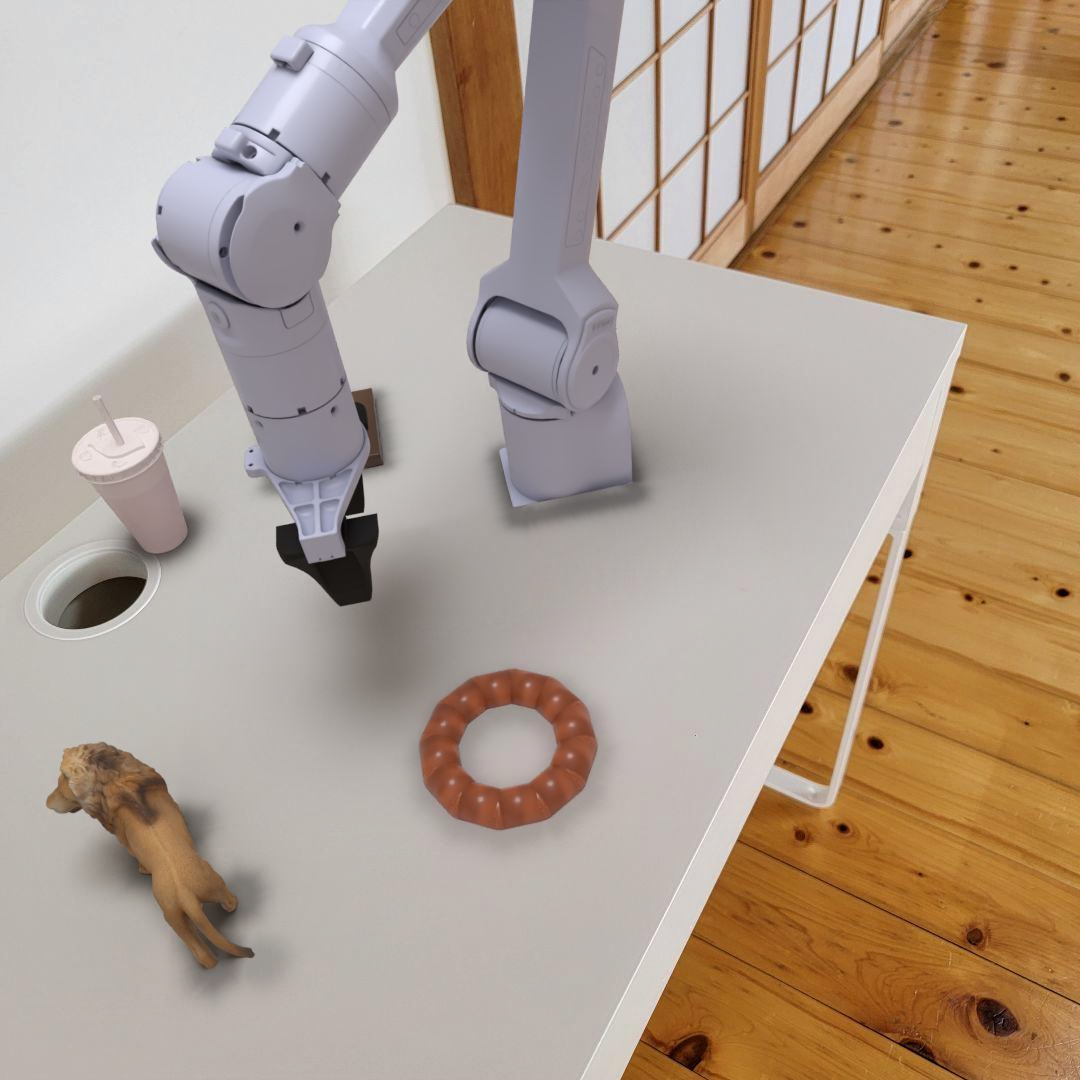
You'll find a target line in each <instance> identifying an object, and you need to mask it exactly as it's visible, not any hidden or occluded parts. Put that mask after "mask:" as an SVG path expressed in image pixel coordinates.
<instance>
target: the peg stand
mask: <svg viewBox="0 0 1080 1080" xmlns="http://www.w3.org/2000/svg"><path fill="white" fill-rule="evenodd" d="M351 393H352V396H353V399H354V402H358V403H361V404H363V405H364V406H365V408H366V411H367V417H368V427H369V429H368V431H367V434H368V438H369V441H370V453H369V456H368V459H367V461H366V464H365V466H364V469H367V468H371V467H376V466H380V465H384V461H383V453H382V447H381V438H380V430H379V422H378V413H377V408H376V407H377V405H376V399H375V395H374V392H373V388H372V387H369V388H364V389H358V390H353V391H351Z"/></svg>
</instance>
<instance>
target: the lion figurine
mask: <svg viewBox="0 0 1080 1080" xmlns="http://www.w3.org/2000/svg"><path fill="white" fill-rule="evenodd" d="M61 758H62V761H61V762H60V767H59V771H60V775H59V776H58V778H57V787H55V789H54V790H53V791H52V792H51V793H50V794H49V795H48V796H47V798H46V801H45V807H46V808H47V809H49V810H53V811H54V812H55V813H57V814H61V815H64V814H65V815H66V814H69V813H70V814H77V813H78V812H80V811H81V810H83V811H84V812H85V814H87V815H89V817H90V818H91V819H93V820H97V821H98V822H99V823H100V825H101V826H102V827H103V828H104V829H105V831H107V832H108V833H109V834H112V835H113V836H115V837H116V839H117V841H118V842H119V843H120V844H121V845H123V847H124V848H125V850H126V851H127V853H129V855H131V857H133V858H136V859H137V861H138V872H139V873H141V874H144V875H151V883H152V885H151V886H152V894H153V897H154V899H155V901H156V903H157V904H158V906H159V908H160V909H161V912H162V914H163V919H164V920H165V922H166V923H167V924H168V926H170V927H171V928H172V930H173V931H174V932H175V934H176V935H177V936H178V937H179V938H180V939H181V940H182V941H183V942H184V943H185V944H186V946H187V947H188V948H189V950H190V951H191V953H192V954H193V956H194V959H195V960H196V961H197V962H198V963H199V964H201V965H202V966H203V967H205V969H208V970H211V969H212V968H214V967H216V966H217V965H218V963H219V958H218V956H217V955H216V954H215V953H214V951H213V950H212V949H211V947H210V946H209V945H207V943H205V941H203V939H202V938H201V937H200V935H199V934H198V932H197V931H196V927H197V928H198V931H200V932H201V933H202V935H204V936H205V937H206V938H207V939H208V940H209V941H210V942H211V943H212V944H213V945H214V946H215V947H217V948H218V949H220V950H221V951H223V952H226V953H227V954H230V955H233V956H236V957H238V958H239V957H240V958H242V959H243V958H244V959H245V958H246V959H253V958H254V957H255V956H256V953H255V952H254V951H253V948H252V947H246V946H242V945H239V944H237V943H235V942H234V943H233V942H232V941H230V940H228V938H227V939H226V937H224V936H223V935H222V934H221V933H220V932H219V931H218V930H217V929H216V928H215V927H214V926H213V925H212V923H211V922H210V920H209V919H208V917H207V916H206V914H205V912H204V911H203V904H209V903H220V904H221V907H222V908H223V909H224V910H225V911H227V912H228V913H232V912H233V911H235V909H236V908H237V907H238V903H239V899H238V897H237V896H236V895H235V894H233V893H232V892H231V891H230V889H229V888H228V886H227V884H226V882H225V880H224V878H223V876H221V874H219V873H218V872H217V871H216V870H215V869H214V868H213V866H212V865H211V864H210V862H208V861H207V860H206V859H204V858H202V857H201V856H200V855H199V854H198V853H197V852H196V848H195V842H194V840H193V837H192V836H191V834H190V832H189V831H188V825H187V821H186V820H185V817H184V815H183V813H182V810H181V809H180V806H179V804H178V803H177V802H176V801H175V800H174V798H173V797H172V795H171V794H170V792H169V790H168V784H167V782H166V780H165V778H164V777H163V775H161V773H159V772H157V771H156V768H154V767H151V766H149V765H148V764H147V763H144V762H143V761H141V760H140V759H138V758H136V757H135V756H134V754H133V753H131V752H129V751H124V750H123V749H120V748H117V747H116V746H114V745H113V744H108V743H107V742H106V741H98V742H96V743H94V742H93V743H92V742H91V743H82V744H79V745H78V746H72V747H66V748H63V754H62V756H61ZM195 926H196V927H195Z"/></svg>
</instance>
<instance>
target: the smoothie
mask: <svg viewBox="0 0 1080 1080" xmlns="http://www.w3.org/2000/svg"><path fill="white" fill-rule="evenodd" d="M92 401H93V403H94V405H95V407H96V408H97V410H98V412H99V414H100V416H101V418H102V420H103V421H104V422H103V423H101V424H99V425H97V426H95V427H93V428H92V429H90V430H89V431H87V432H86V433H85V434H84V435H83V436H82V437H81V438H80V439H79V440H78V441H77V443H76V444H75V445H74V447H73V449H72V451H71V463H72V465H73V467H74V468H75V471H76V472H75V473H76V474H77V475H78V476H79V477H80V479H81V480H83V481H85V482H87V483H89V484H90V485H91V486H92V487H93V489H94V490H95V491H96V492H97V493H98V494H99V496H100V497H101V498H102V500H103V501H104V502H105V503H106V505H108V507H109V508H110V510H111V511H112V512H113V514H115V516H116V517H117V518H118V519H119V520H120V522H121V523H122V525H123V526H124V527H125V528H126V529H127V531H128V532H129V533H130V534H131V535H132V537H133V538H134V539H135V540H136V542H137V543H138V544H139V546H140V547H141V548H142V549H143V550H144V551H145V552H147V553H148V554H149V553H150V554H154V555H155V554H157V555H159V554H165V553H167V552H168V553H169V552H170V551H172V550H175V549H176V548H178V547H179V546H180V545H181V544H183V542H184V541H185V540H186V538H187V536H188V533H189V529H188V526H187V525H188V524H187V523H186V522H187V521H186V519H185V515H184V513H183V510H182V507H181V506H182V505H181V504H180V500H179V497H178V495H177V490H176V488H175V485H174V482H173V479H172V475H171V472H170V469H169V465H168V462H167V459H166V456H165V453H164V445H165V440H164V438H163V435H162V433H160V431H159V428H158V426H157V425H156V424H155V423H154V422H152V421H151V420H150V419H149V420H148V419H146V418H143V417H138V416H137V417H136V416H126V417H120V418H115V419H114V418H113V417H112V416H111V415H112V414H111V413H110V411H109V409H108V407H107V406H106V404H105V402H104V400H103V397H102V396H101V395H100V394H98V395H97V394H96V395H94V396H93V397H92Z"/></svg>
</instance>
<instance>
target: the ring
mask: <svg viewBox="0 0 1080 1080" xmlns="http://www.w3.org/2000/svg"><path fill="white" fill-rule="evenodd" d="M509 705H516V706H520V707H524V708H527V709H531V710H536V712H538V713H539V714H540V716H542V717H543V719H545V720H546V721H547V722H548V723H549V724H551V726H552V729H553V734H554V738H555V742H556V747H555V750H554V753H553V755H552V758H551V761H550V763H549V765H548V766H547V767H546V768H545V769H544V770H542V771H541V772H540V773H539V774H538V775H537V776H535V777H534V778H533V779H532V780H531V781H529V782H526V783H522V784H516V785H513V786H507V787H504V788H500V787H497V786H496V787H495V786H492V785H489V784H485V783H481V782H477V781H476V780H475V779H474V778H473V777H472V776H471V775H470V774H469V773H468V772H467V770H465V768H464V767H463V766H462V761H461V755H460V750H459V749H460V748H459V745H460V743H461V741H462V738H463V736H464V733H465V731H466V729H467V727H468V725H469V724H471V723H472V722H473V721H474V720H475V719H476V718H478V717H479V716H481V715H482V714H483V713H484V712H485V711H487V710H488V709H489V710H490V709H495V708H498V707H503V706H509ZM588 709H589V708H588V707H587V706H586V704H585V703H584V702H583V701H582V700H581V699H580V698H579V697H578V696H577V695H575V693H574V692H572V691H571V690H570V689H569V688H567V686H565V685H564V684H563V683H562V682H561V681H560V680H558V679H557V678H556V677H553V676H552V675H551V676H550V675H546V674H541V673H537V672H534V671H528V670H525V669H520V668H507V669H503V670H498V671H492V672H489V673H483V674H479V675H475V676H472V677H470V678H468V679H467V680H466V681H463V683H462V684H460V685H459V686H457V687H456V688H455V689H454V690H452V691H451V692H449V693H448V694H447V695H446V696H444V697H443V698H442V699H440V700H439V701H438V702H437V704H436V705H435V706H434V708H433V710H432V713H431V715H430V717H429V719H428V721H427V723H426V726H424V727H425V728H424V729H423V731H422V734H421V736H420V738H419V741H418V742H419V743H418V750H419V757H420V766H421V774H422V780H423V785H424V787H425V788H426V790H428V792H429V793H430V794H431V795H432V796H433V797H434V798H435V800H437V802H438V803H439V804H440V805H441V806H442V807H443V808H444V809H445V810H446V812H447V813H448V814H449V815H450V816H451V817H453V818H454V819H457V820H460V821H464V822H466V823H470V824H474V825H478V826H482V827H485V828H487V829H488V828H489V829H492V830H496V831H502V830H507V829H512V828H516V827H521V826H526V825H529V824H534V823H539V822H543V821H547V820H548V819H550V818H551V817H553V815H555V814H556V813H557V812H558V811H559V810H561V809H562V808H563V807H564V806H565V805H567V803H569V802H570V801H571V800H572V799H574V798H575V797H576V796H577V795H578V794H579V793H580V792H581V791H582V790H583V789H584V788H585V786H586V784H587V780H588V777H589V774H590V771H591V768H592V766H593V763H594V761H595V757H596V755H597V751H598V741H597V738H596V735H595V730H594V727H593V724H592V720H591V717H590V716H591V715H590V713H589V710H588Z"/></svg>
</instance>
